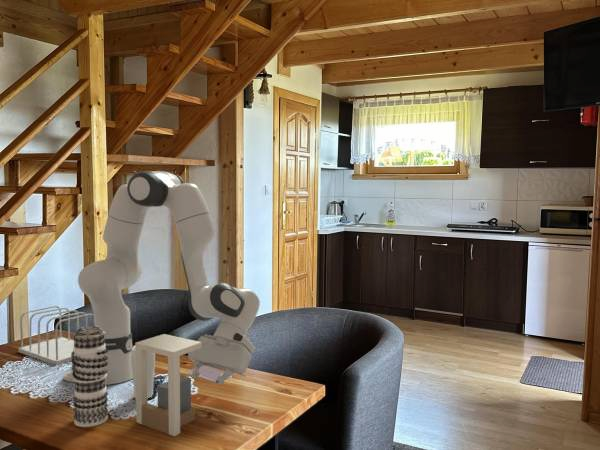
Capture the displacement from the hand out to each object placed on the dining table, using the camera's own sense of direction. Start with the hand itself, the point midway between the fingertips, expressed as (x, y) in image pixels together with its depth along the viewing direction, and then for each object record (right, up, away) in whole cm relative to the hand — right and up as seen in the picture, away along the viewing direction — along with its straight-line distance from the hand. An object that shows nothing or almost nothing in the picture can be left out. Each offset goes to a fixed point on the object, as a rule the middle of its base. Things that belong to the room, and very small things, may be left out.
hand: (206, 380), depth 152 cm
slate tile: (-7, -7, -10) cm, 14 cm away
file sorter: (-63, -3, +46) cm, 78 cm away
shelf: (-7, -8, -11) cm, 15 cm away
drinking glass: (-19, -7, +5) cm, 21 cm away
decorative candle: (-29, -8, -11) cm, 32 cm away
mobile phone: (-3, -6, +25) cm, 25 cm away
